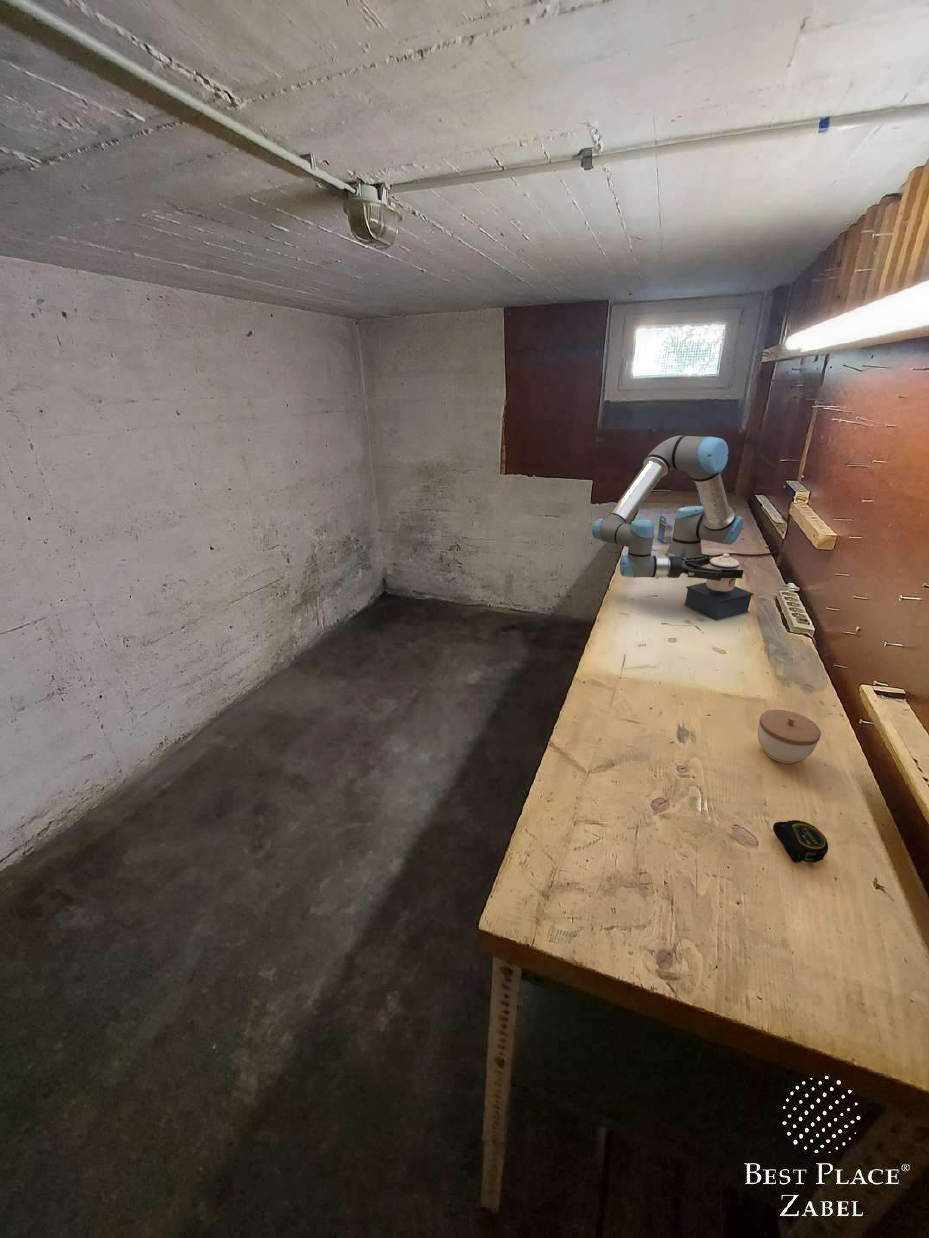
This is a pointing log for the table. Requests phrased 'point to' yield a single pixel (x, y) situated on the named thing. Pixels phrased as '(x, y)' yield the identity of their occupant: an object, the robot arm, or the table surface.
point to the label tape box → (664, 530)
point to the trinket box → (787, 735)
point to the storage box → (717, 601)
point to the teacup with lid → (719, 564)
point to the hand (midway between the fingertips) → (736, 567)
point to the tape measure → (801, 841)
